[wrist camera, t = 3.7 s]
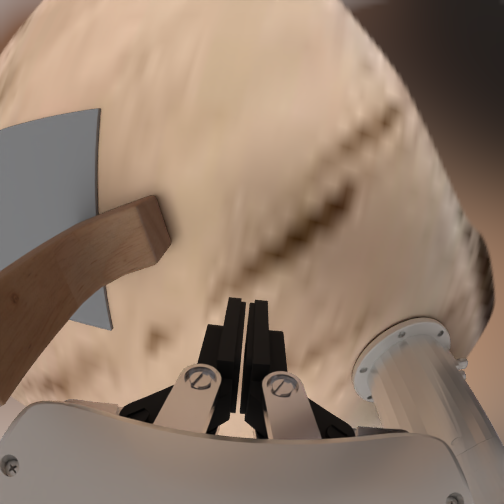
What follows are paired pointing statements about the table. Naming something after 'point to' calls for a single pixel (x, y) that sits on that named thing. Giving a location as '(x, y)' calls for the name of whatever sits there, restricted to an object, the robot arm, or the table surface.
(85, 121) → the mat
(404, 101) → the table surface
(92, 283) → the wooden block
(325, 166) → the table surface
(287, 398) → the robot arm
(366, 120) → the table surface
